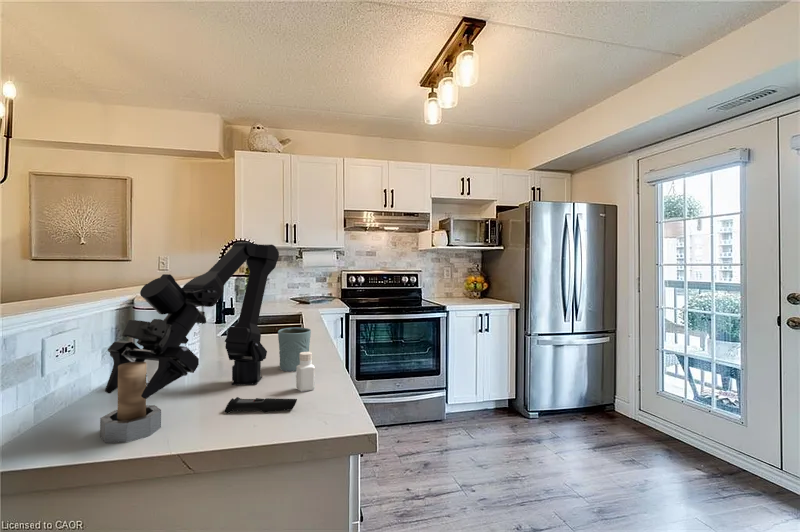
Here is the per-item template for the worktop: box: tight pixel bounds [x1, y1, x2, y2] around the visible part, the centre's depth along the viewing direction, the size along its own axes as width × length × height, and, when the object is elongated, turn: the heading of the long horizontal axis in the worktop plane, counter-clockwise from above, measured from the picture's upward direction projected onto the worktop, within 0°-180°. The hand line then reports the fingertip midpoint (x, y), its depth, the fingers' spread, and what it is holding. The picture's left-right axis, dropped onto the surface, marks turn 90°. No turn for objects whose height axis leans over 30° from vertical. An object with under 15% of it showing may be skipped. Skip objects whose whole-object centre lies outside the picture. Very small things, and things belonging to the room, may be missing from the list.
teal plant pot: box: [277, 327, 312, 372], centre depth 120 cm, size 10×10×12 cm
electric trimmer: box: [223, 396, 298, 414], centre depth 85 cm, size 4×16×3 cm, turn 92°
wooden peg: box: [116, 362, 147, 421], centre depth 73 cm, size 4×4×13 cm
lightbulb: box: [141, 347, 159, 383], centre depth 103 cm, size 6×6×11 cm
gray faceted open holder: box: [99, 404, 162, 444], centre depth 73 cm, size 9×9×4 cm
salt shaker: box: [295, 351, 316, 393], centre depth 99 cm, size 4×4×10 cm
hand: (124, 395), depth 72 cm, fingers open, 9 cm apart
